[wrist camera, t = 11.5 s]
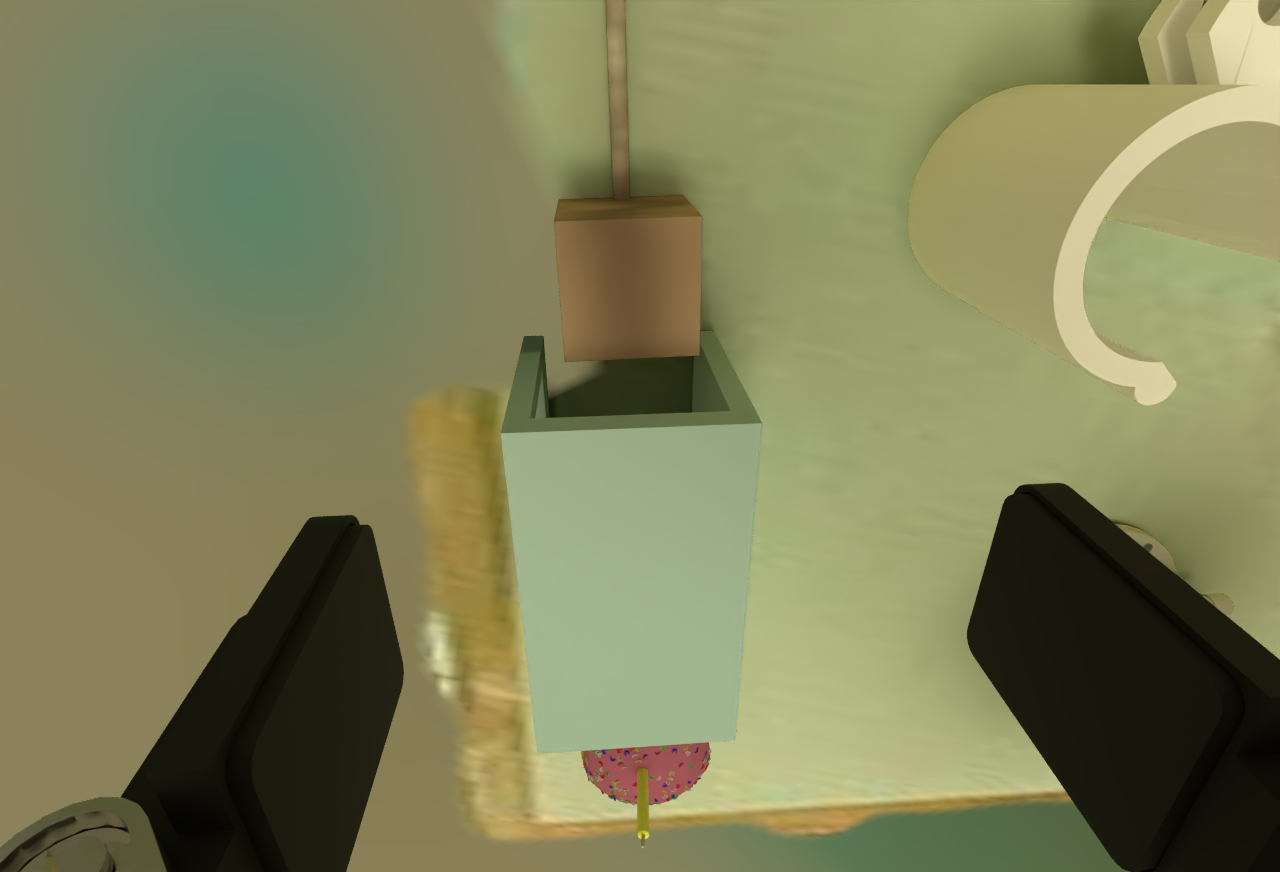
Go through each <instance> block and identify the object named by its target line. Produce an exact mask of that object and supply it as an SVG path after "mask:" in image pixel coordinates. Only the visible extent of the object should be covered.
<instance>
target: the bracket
mask: <svg viewBox="0 0 1280 872" xmlns="http://www.w3.org/2000/svg"><path fill="white" fill-rule="evenodd" d="M1203 1H1204V0H1162V2H1161V3H1160V4H1159V6H1158V7H1157V8H1156V9H1155V11H1154V12H1153V14H1152V16H1151V17H1150V19H1149V20H1148V22H1147V23H1146V25H1145V27H1144V28H1143V30H1142V32H1141V34H1140V35H1139V37H1138V41H1139V45H1140V49H1141V52H1142V56H1143V60H1144V64H1145V68H1146V72H1147V76H1148V79H1149V83H1150V85H1081V84H1033V85H1022V86H1017V87H1012V88H1009V89H1006V90H1002V91H1000V92H997V93H995V94H992V95H990V96H988V97H986V98H985V99H983V100H981V101H979V102H978V103H976V104H974V105H973V106H971V107H970V108H969V109H967V110H966V111H965V112H963V113H962V114H961V115H960V116H959V117H957V118H956V119H955V120H954V121H953V122H952V123H951V124H950V125H949V126H948V127H947V128H946V129H945V130H944V131H943V133H942V134H941V135H940V136H939V138H938V139H937V140H936V142H935V143H934V144H933V146H932V147H931V149H930V150H929V152H928V154H927V155H926V157H925V159H924V161H923V163H922V165H921V167H920V169H919V171H918V174H917V176H916V179H915V182H914V185H913V188H912V192H911V197H910V202H909V210H908V231H909V238H910V243H911V246H912V250H913V253H914V255H915V257H916V260H917V262H918V263H919V265H920V267H921V268H922V270H923V271H924V272H925V274H926V275H927V276H928V277H929V278H930V279H931V280H932V281H933V282H934V283H935V284H937V285H938V286H939V287H941V288H942V289H944V290H945V291H947V292H949V293H951V294H953V295H954V296H956V297H958V298H960V299H961V300H963V301H965V302H967V303H968V304H970V305H972V306H974V307H975V308H976V309H977V310H978V311H979V312H981V313H983V314H984V315H986V316H988V317H990V318H991V319H993V320H995V321H997V322H998V323H1000V324H1002V325H1004V326H1005V327H1007V328H1009V329H1011V330H1012V331H1014V332H1016V333H1018V334H1019V335H1021V336H1023V337H1025V338H1026V339H1028V340H1030V341H1032V342H1033V343H1035V344H1037V345H1039V346H1040V347H1042V348H1044V349H1046V350H1047V351H1049V352H1051V353H1053V354H1054V355H1056V356H1058V357H1060V358H1061V359H1063V360H1065V361H1067V362H1068V363H1070V364H1072V365H1074V366H1075V367H1077V368H1079V369H1081V370H1082V371H1084V372H1086V373H1088V374H1089V375H1091V376H1093V377H1095V378H1096V379H1098V380H1100V381H1102V382H1103V383H1105V384H1107V385H1109V386H1110V387H1112V388H1114V389H1116V390H1117V391H1119V392H1121V393H1123V394H1124V395H1126V396H1128V397H1130V398H1131V399H1133V400H1135V401H1137V402H1138V403H1140V404H1142V405H1154V404H1157V403H1160V402H1162V401H1163V400H1165V399H1166V398H1167V397H1168V396H1169V395H1170V394H1171V393H1172V392H1173V391H1174V389H1175V387H1176V385H1177V383H1176V381H1175V380H1174V379H1173V377H1172V376H1171V374H1170V373H1169V371H1168V370H1167V369H1166V367H1165V366H1164V364H1163V363H1162V362H1161V361H1159V360H1157V359H1154V358H1152V357H1150V356H1142V355H1140V354H1138V353H1136V352H1134V351H1132V350H1130V349H1128V348H1126V347H1123V346H1121V345H1119V344H1117V343H1115V342H1113V341H1111V340H1109V339H1107V338H1105V337H1103V336H1101V335H1099V334H1097V333H1095V332H1094V331H1093V329H1092V328H1091V326H1090V323H1089V321H1088V319H1087V316H1086V312H1085V308H1084V303H1083V291H1082V289H1083V275H1084V268H1085V264H1086V259H1087V255H1088V252H1089V249H1090V246H1091V243H1092V241H1093V239H1094V236H1095V234H1096V232H1097V230H1098V228H1099V226H1100V224H1101V222H1102V220H1103V218H1104V217H1107V218H1111V219H1115V220H1119V221H1123V222H1127V223H1131V224H1134V225H1138V226H1142V227H1146V228H1150V229H1154V230H1158V231H1162V232H1166V233H1170V234H1174V235H1178V236H1182V237H1186V238H1190V239H1194V240H1197V241H1201V242H1205V243H1209V244H1213V245H1217V246H1221V247H1225V248H1229V249H1233V250H1237V251H1241V252H1245V253H1249V254H1253V255H1257V256H1261V257H1264V258H1268V259H1272V260H1276V261H1280V0H1206V4H1205V5H1204V6H1203V8H1202V5H1203Z"/></svg>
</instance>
